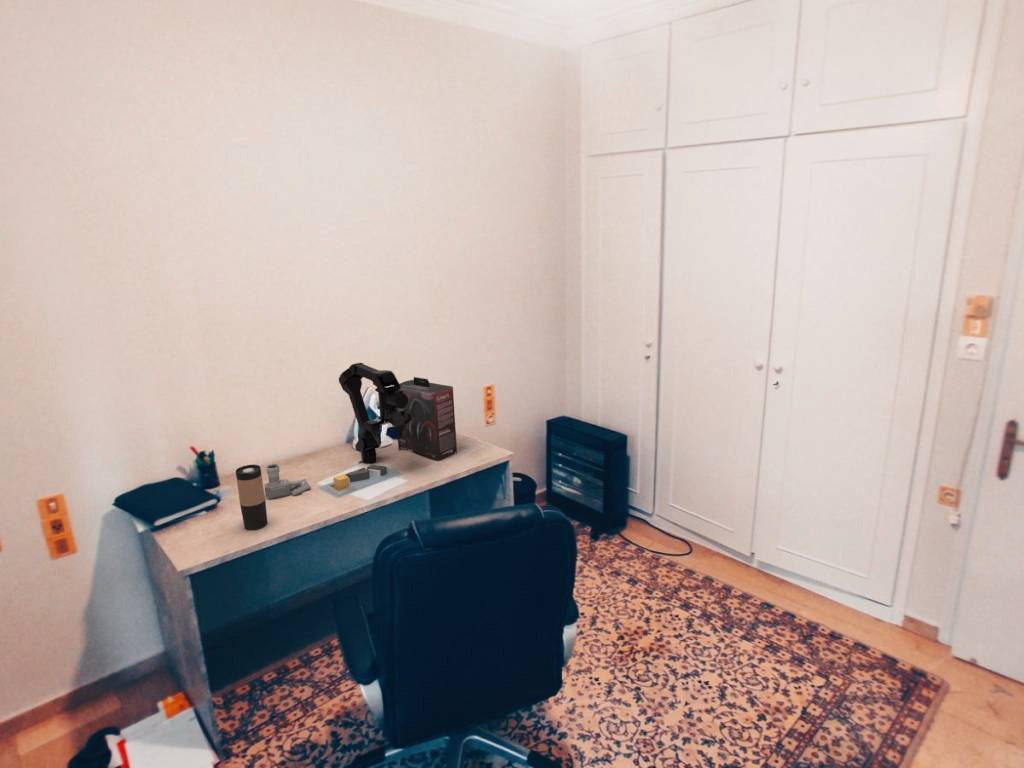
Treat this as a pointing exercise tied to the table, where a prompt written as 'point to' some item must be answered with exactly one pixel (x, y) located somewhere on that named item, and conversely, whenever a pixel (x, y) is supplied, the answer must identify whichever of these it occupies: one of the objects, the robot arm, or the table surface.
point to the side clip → (358, 470)
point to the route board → (376, 477)
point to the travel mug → (251, 497)
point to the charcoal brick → (358, 475)
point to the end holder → (340, 492)
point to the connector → (341, 482)
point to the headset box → (429, 419)
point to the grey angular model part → (282, 484)
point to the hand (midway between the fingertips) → (389, 442)
